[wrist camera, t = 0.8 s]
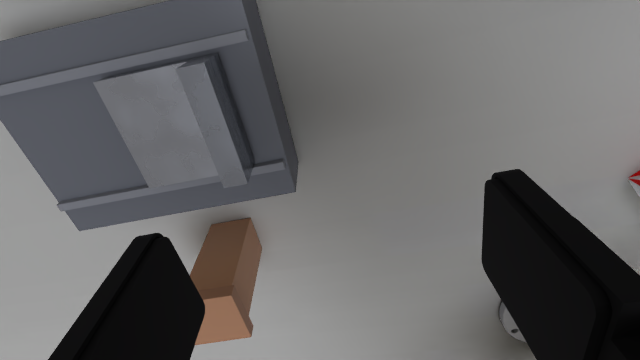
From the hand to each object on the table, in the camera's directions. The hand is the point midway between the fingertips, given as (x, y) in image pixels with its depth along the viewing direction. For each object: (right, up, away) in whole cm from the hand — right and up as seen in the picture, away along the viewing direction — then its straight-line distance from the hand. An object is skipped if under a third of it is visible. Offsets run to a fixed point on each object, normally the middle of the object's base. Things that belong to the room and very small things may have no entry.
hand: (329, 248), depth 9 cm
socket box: (-12, +8, +18) cm, 23 cm away
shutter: (-9, +6, +14) cm, 17 cm away
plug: (-9, -4, +25) cm, 27 cm away
